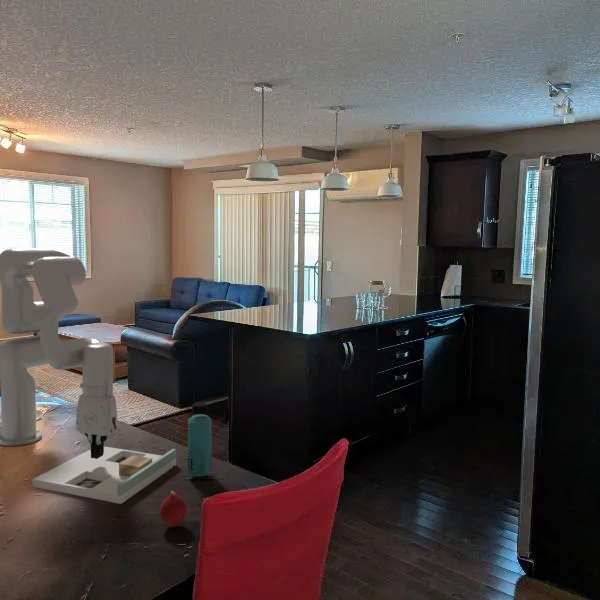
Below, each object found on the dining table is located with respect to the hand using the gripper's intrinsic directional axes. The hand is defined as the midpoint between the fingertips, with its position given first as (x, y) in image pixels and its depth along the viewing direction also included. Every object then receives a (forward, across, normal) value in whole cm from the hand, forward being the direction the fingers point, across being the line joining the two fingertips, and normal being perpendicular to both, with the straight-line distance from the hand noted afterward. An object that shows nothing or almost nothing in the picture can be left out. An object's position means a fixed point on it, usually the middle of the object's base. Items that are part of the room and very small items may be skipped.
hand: (97, 456), depth 147 cm
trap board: (+4, +4, 0) cm, 6 cm away
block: (+2, +12, 0) cm, 12 cm away
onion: (+3, +34, -18) cm, 38 cm away
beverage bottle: (+4, +27, +7) cm, 28 cm away
